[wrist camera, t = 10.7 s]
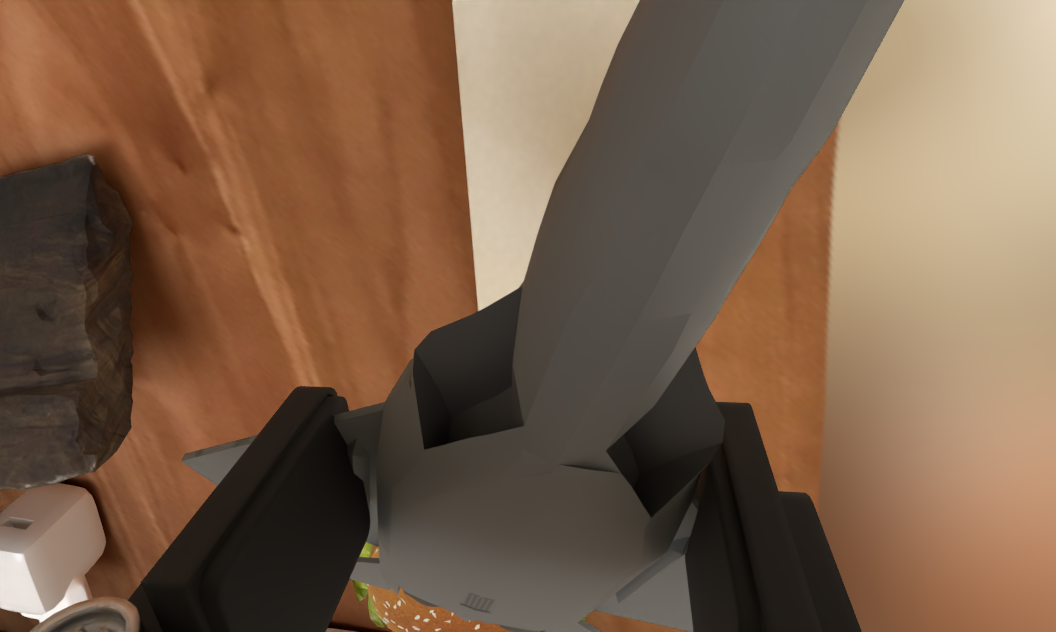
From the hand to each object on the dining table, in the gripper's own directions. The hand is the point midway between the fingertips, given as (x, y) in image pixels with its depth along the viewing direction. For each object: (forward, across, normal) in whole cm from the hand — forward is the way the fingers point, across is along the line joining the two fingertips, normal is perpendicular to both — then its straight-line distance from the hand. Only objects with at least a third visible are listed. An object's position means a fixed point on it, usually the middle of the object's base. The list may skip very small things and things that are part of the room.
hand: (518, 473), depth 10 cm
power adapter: (+20, +34, +25) cm, 47 cm away
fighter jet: (-2, 0, 0) cm, 2 cm away
